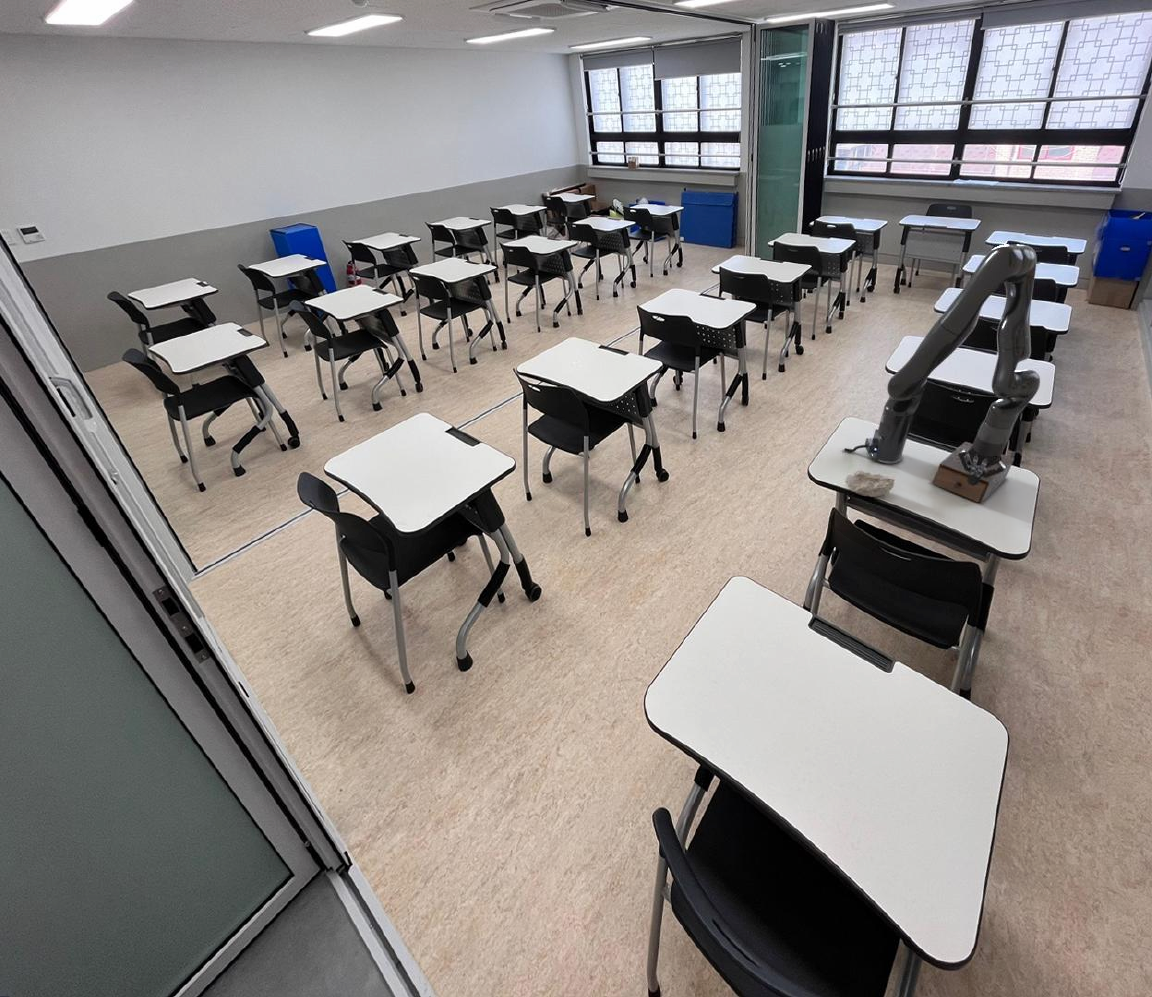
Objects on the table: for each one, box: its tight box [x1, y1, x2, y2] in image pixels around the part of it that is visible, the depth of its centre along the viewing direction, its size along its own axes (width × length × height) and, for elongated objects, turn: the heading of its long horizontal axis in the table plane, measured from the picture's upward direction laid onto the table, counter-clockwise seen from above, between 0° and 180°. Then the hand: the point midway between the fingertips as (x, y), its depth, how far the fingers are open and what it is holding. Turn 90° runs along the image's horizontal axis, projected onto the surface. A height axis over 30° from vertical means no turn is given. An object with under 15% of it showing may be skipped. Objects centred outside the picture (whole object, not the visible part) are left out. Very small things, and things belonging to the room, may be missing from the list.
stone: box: [844, 469, 896, 498], centre depth 185 cm, size 8×12×10 cm
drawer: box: [933, 467, 987, 503], centre depth 183 cm, size 18×13×6 cm
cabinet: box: [932, 441, 1015, 504], centre depth 184 cm, size 18×15×8 cm
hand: (971, 484), depth 174 cm, fingers closed
